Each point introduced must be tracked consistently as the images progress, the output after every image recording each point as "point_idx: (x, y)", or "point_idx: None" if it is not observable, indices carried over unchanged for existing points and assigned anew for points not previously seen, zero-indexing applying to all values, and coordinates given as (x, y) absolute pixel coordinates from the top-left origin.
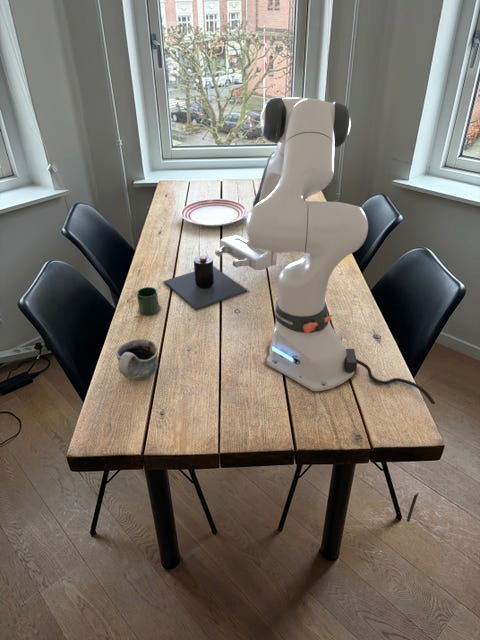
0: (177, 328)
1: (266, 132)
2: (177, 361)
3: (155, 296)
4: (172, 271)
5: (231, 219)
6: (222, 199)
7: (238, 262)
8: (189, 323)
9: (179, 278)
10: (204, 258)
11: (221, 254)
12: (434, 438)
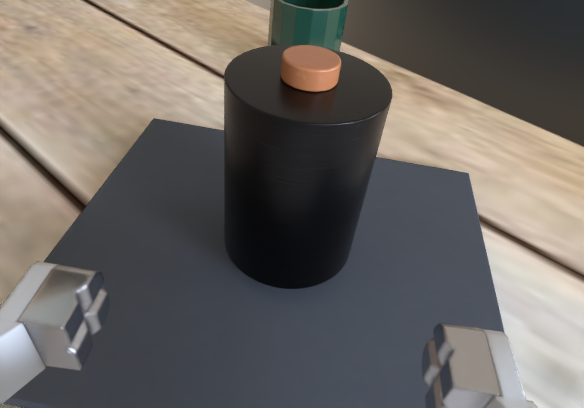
0: (136, 58)
1: None
2: (35, 6)
3: (273, 7)
4: (581, 265)
5: None
6: None
7: (16, 296)
8: (117, 80)
9: (453, 220)
10: (285, 51)
11: (432, 399)
12: None
